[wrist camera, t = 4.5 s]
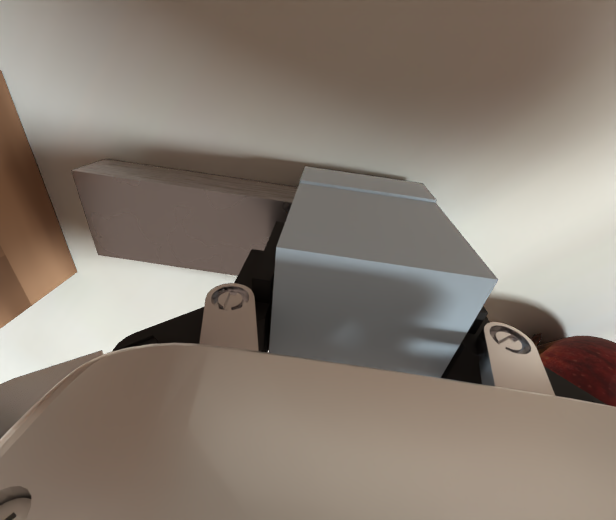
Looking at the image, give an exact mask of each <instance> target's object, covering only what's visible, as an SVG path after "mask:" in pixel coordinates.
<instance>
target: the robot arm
mask: <svg viewBox="0 0 616 520" xmlns="http://www.w3.org/2000/svg"><path fill="white" fill-rule="evenodd" d="M284 224H285V222H278V221H276V223H275V226H274V228H273V230H272V233H271V235H270V237H269V240H268V242H267V244H266V247H265V249H264V251H263V250H256V249H252V250H251V251H250V253H249V255H248V257H247V259H246V261H245V263H244V265H243V267H242V269H241V271H240V273H239V275H238V277H237V279H236V281H235V283H227V284H222V285H219V286H216V287H215V288H213V289H211V290H210V291H209V292H208V294H207V296H206V298H205V306H204V307H203V308H200V309H197V310H195V311H192V312H189V313H187V314H184V315H181V316H179V317H176V318H173V319H171V320H168V321H165V322H163V323H160V324H157V325H155V326H152V327H149V328H147V329H144V330H141V331H139V332H136V333H134V334H132V335H130V336H128V337H126V338H125V339H123V340H122V341H121V342H119V343H118V344H117V346H116V347H115V348H114V349H113V351H112V352H109V353H106V354H103V351H102V350H101V351H98V352H95V353H92V354H88V355H85V356H82V357H79V358H76V359H73V360H70V361H67V362H63V363H60V364H57V365H54V366H51V367H48V368H45V369H42V370H38V371H35V372H32V373H29V374H26V375H23V376H20V377H17V378H14V379H11V380H9V381H7V382H4V383H2V384H0V520H616V407H614V406H609V405H607V404H605V403H603V402H602V401H600V400H598V399H597V398H595V397H594V396H592V395H590V394H589V393H587V392H585V391H584V390H582V389H581V388H579V387H577V386H576V385H574V384H572V383H571V382H569V381H568V380H566V379H564V378H563V377H561V376H559V375H558V374H556V373H555V372H553V371H551V370H550V369H548V368H546V367H545V366H543V363H542V361H541V358H540V356H539V353H538V351H537V348H536V346H535V345H534V343H533V342H532V341H531V339H530V338H529V337H528V336H526V335H525V334H524V333H522V332H521V331H519V330H518V329H516V328H514V327H512V326H509V325H507V324H504V323H499V322H489V320H488V318H487V317H486V316H487V314H488V312H487V311H486V309H485V308H484V306H483V307H482V308H481V310H480V312H479V313H478V315H477V317H476V318H475V320H474V322H473V324H472V325H471V327H470V329H469V330H468V332H467V334H466V335H465V337H464V339H463V340H462V342H461V344H460V346H459V347H458V349H457V351H456V352H455V354H454V356H453V357H452V359H451V361H450V362H449V364H448V366H447V368H446V369H445V371H444V373H443V374H442V376H441V378H437V377H431V376H424V375H417V374H411V373H404V372H397V371H391V370H384V369H377V368H371V367H364V366H357V365H351V364H344V363H337V362H330V361H323V360H316V359H309V358H302V357H295V356H288V355H281V354H274V353H268V350H269V343H270V329H271V315H272V301H273V287H274V272H275V258H276V246H277V244H278V241H279V238H280V235H281V233H282V230H283V227H284Z"/></svg>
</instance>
